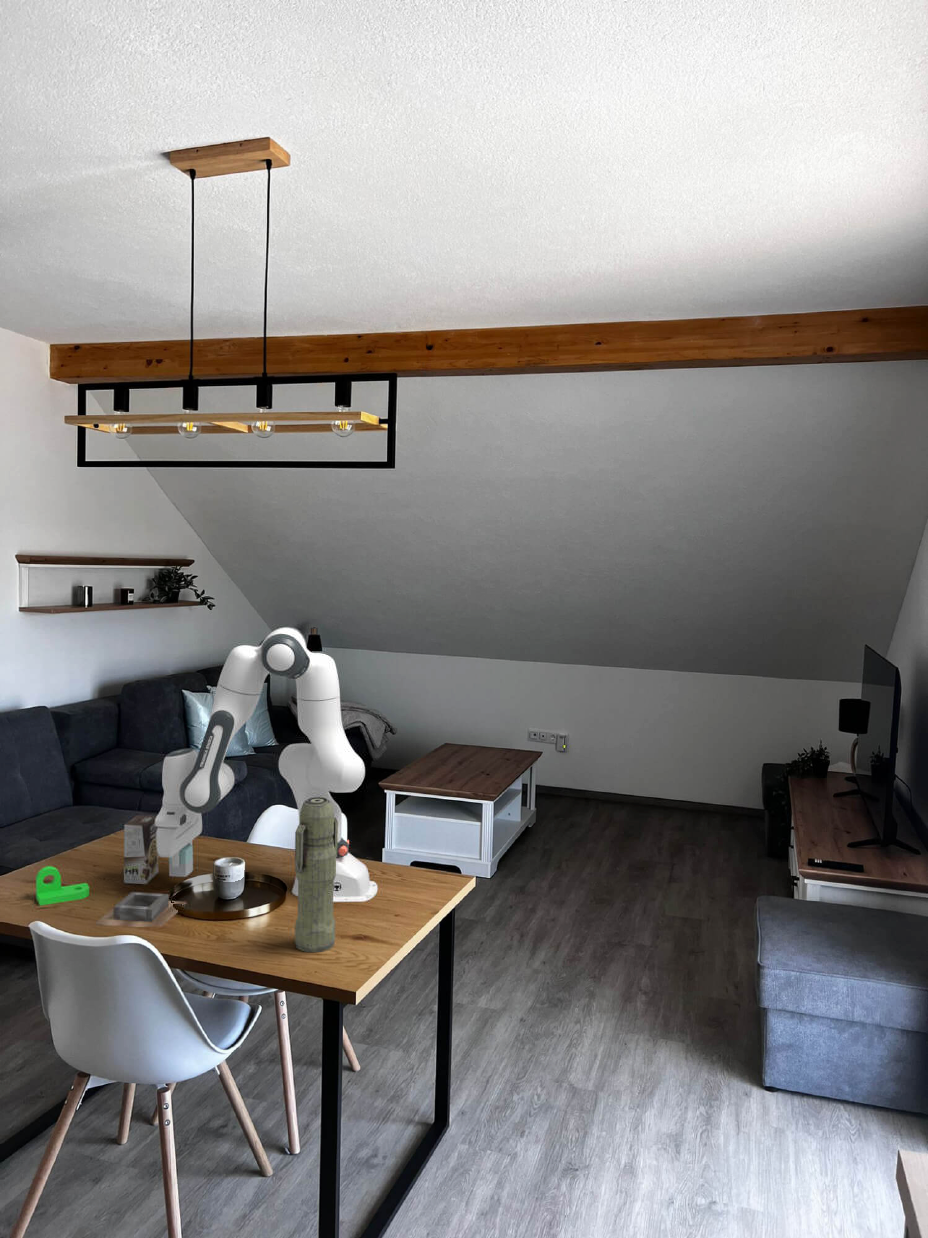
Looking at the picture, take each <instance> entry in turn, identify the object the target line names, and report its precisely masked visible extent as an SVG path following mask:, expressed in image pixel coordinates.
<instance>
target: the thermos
mask: <svg viewBox="0 0 928 1238" xmlns="http://www.w3.org/2000/svg"><path fill="white" fill-rule="evenodd" d="M294 833H295V835H294V836H295V837H294V839H295V841H294V868H295V870H294V872H295V873H296V874H295V878H296V877H297V880H298V896H297V918H296V919H295V920H296V921H295V925H294V943H295V947H296V948H297V949H298V950H300V951H302V952H306V953H321V952H326V951H328V950H330V949H332V948H333V947H334V945H335V942H336V920H335V918H334V917H335V916H334V902H333V884H334V879H335V876H336V857H337V840H338V821H337V819H336V818H335V817H334V810H333V807H332V803H331V801H330V800H328V799H327V798H323V797H312V798H309V799H307V800H305V801H304V802H303V805H302V808H301V811H300V823H299V822H298V825H297V828H296V830H295V832H294Z"/></svg>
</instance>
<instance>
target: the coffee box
mask: <svg viewBox="0 0 928 1238" xmlns="http://www.w3.org/2000/svg"><path fill="white" fill-rule="evenodd" d="M157 816H158V815H154V814H153V815H150V814H149V815H148V814H147V815H144V814H143V815H137V814H136V815H135V816H134V817H133V818H131V819H130V820H128V821H127V822H126V823H124V828H123V829H124V833H123V844H124V845H123V849H124V850H123V858H124V859H123V883H124V884H133V885H134V884H138V885H147V884H148V883H150V881H151V880H152V879H153V878H154V877H155V876H156V875H157V874H158V873H159V855H158V853H157V841H156V833H157V828H158V827H157V826H155V819H156V817H157Z"/></svg>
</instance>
